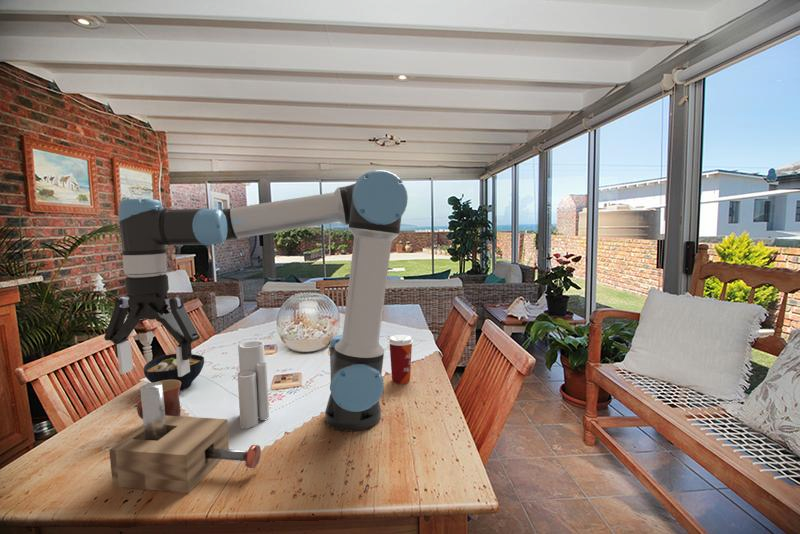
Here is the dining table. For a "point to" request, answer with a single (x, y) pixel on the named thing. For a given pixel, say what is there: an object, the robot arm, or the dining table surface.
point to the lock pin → (236, 455)
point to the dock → (169, 455)
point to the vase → (252, 383)
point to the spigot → (153, 411)
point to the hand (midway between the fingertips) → (155, 373)
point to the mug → (167, 398)
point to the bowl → (173, 369)
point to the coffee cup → (400, 358)
